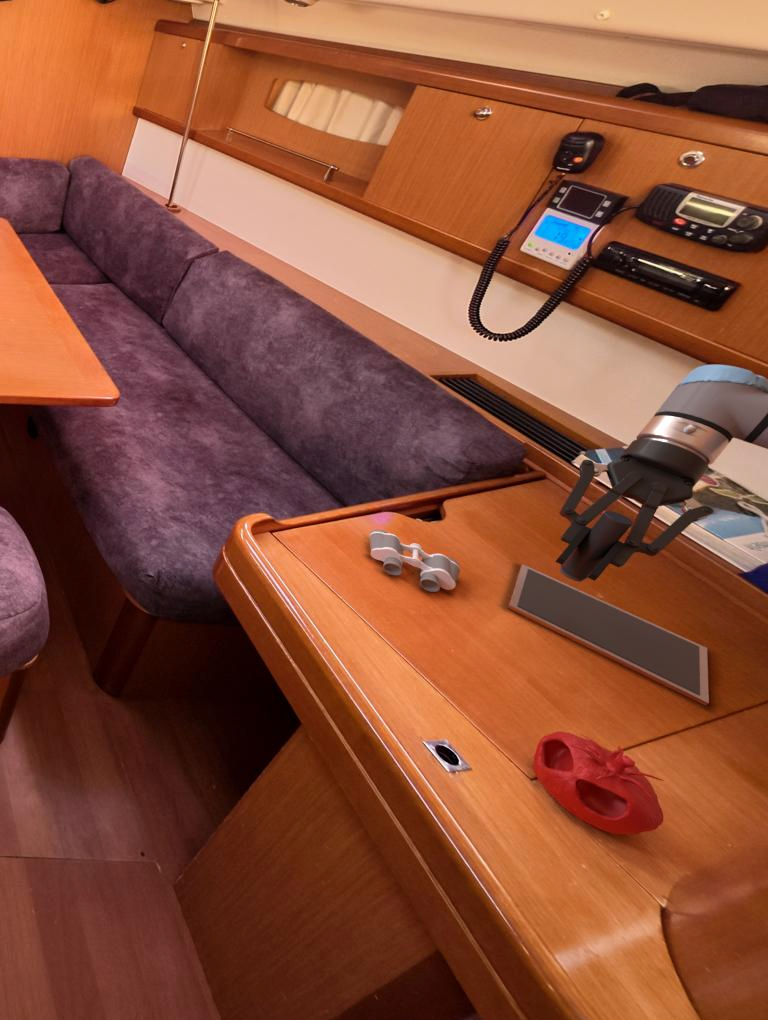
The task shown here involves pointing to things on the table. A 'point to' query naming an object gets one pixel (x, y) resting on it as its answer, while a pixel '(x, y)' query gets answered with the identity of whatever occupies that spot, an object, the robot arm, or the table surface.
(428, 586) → the binoculars
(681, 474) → the robot arm
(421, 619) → the table surface
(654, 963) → the table surface
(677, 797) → the table surface
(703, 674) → the tablet
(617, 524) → the dark gray cylinder
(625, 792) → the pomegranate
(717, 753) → the table surface
